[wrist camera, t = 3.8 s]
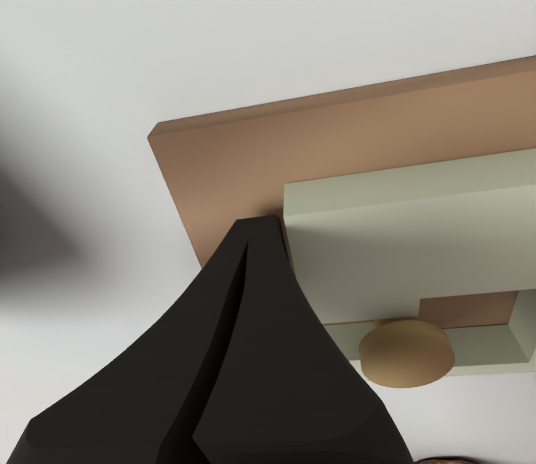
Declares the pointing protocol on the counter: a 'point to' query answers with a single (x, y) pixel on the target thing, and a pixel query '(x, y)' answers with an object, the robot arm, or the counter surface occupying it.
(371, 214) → the panel
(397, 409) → the counter surface
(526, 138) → the board
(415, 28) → the counter surface
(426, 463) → the sauce bottle
